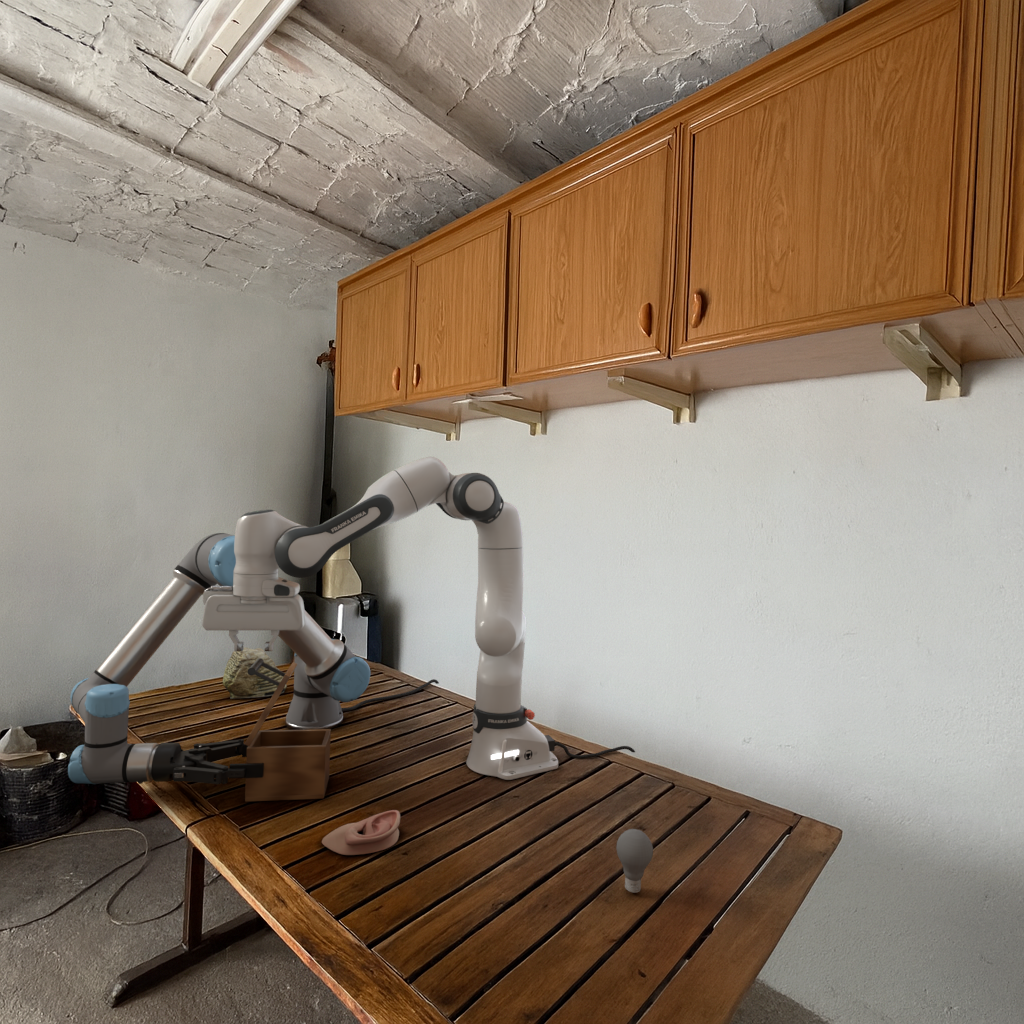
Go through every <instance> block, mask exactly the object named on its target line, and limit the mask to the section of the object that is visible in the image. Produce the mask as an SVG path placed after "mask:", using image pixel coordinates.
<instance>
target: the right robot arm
mask: <svg viewBox="0 0 1024 1024" xmlns="http://www.w3.org/2000/svg"><path fill="white" fill-rule="evenodd" d="M434 504H436V506H437V507H438V508H440V509H441V510H442V512H443V513H444V514H446V515H447V516H448V517H450V518H452V519H456V520H461V521H471V522H473V524H474V526H475V529H476V533H477V591H476V601H475V621H474V623H475V624H474V638H475V642H476V645H477V647H478V648H479V649H480V650H479V655H478V665H477V669H476V686H475V703H474V705H473V710H472V719H471V720H472V721H471V722H472V723H471V724H472V729H473V731H472V737H471V743H470V748H469V751H468V755H467V758H466V760H465V763H466V764H465V765H466V766H467V767H468V768H469V769H470V770H471V771H473V772H474V773H478V774H480V775H485V776H491V777H495V778H496V777H497V778H499V779H502V780H506V781H511V780H515V779H520V778H524V777H528V776H532V775H537V774H540V773H545V772H549V771H553V770H557V769H558V768H559V759H558V758H557V756H556V755H555V754H554V753H553V752H555V748H556V746H557V747H560V748H562V749H563V750H564V753H565V755H567V757H570V758H572V759H588V758H595V757H600V756H603V755H605V754H609V753H614V752H617V751H623V750H628V751H629V752H631V753H636V750H635V749H634V748H633V747H631V746H628V745H620V746H617V747H614V748H608V749H605V750H601V751H599V752H595V753H587V754H574V753H571V752H570V751H569V749H568V747H567V746H566V745H565V744H563V743H561V742H558V741H556V740H555V739H554V738H553V737H551V735H549V734H544V733H543V732H542V731H541V730H539V728H537V727H536V726H534V724H532V723H531V722H530V720H531V721H532V720H534V718H535V716H536V715H535V712H534V711H532V710H531V709H528V708H527V707H525V706H524V705H522V685H523V669H524V659H525V647H526V633H527V618H526V617H527V616H526V614H525V612H524V611H523V601H524V600H523V599H524V598H523V597H524V581H525V577H524V572H525V568H524V567H525V565H524V533H523V526H522V519H521V514H520V511H519V509H518V507H516V506H515V505H514V504H512V503H511V502H507V501H504V498H503V497H502V496H501V493H500V492H499V489H498V487H497V485H496V483H495V482H494V480H493V479H492V478H490V477H489V476H487V475H486V474H484V473H480V472H465V473H460V474H455V475H454V474H452V473H451V472H450V471H449V469H448V467H447V466H446V464H445V463H444V462H443V461H442V460H441V459H439V458H437V457H435V456H425V457H421V458H419V459H416V460H412V461H411V462H407V463H405V464H403V465H401V466H399V467H397V468H395V469H393V470H390V471H389V472H387V473H386V474H384V475H383V476H381V477H380V478H378V479H376V481H374V482H373V483H372V484H370V485H369V486H368V488H367V489H366V490H365V493H364V494H363V496H362V497H361V499H360V500H358V502H357V503H356V504H354V505H353V506H352V507H350V508H348V509H346V510H344V511H343V512H341V513H339V514H337V515H336V516H334V517H332V518H330V519H328V520H326V521H324V522H323V523H321V524H318V525H314V526H306V525H303V524H300V523H297V522H296V521H295V522H294V521H292V520H290V519H288V518H287V517H284V516H283V515H282V514H280V513H279V512H277V511H276V510H273V509H261V510H255V511H254V510H253V511H248V512H246V513H244V514H242V515H241V516H240V517H239V518H238V519H237V521H236V524H235V525H236V526H235V532H234V535H235V540H234V554H235V557H236V564H235V568H234V573H233V586H219V585H215V586H211V587H210V588H208V589H206V590H205V591H204V593H203V595H202V604H203V605H204V608H203V614H202V620H201V621H202V622H201V623H202V624H201V625H202V628H203V629H204V630H205V631H228V637H229V638H230V640H231V642H232V643H233V644H234V646H233V652H234V651H235V652H237V651H243V648H244V647H245V646H244V645H245V644H244V643H245V642H244V641H240V639H239V637H238V636H237V635H238V634H239V631H270V636H271V639H270V640H269V641H265V643H264V652H273V651H274V645H275V644H274V642H275V641H276V639H277V638H278V637H279V636H278V635H279V630H300V629H301V628H302V627H303V626H304V624H305V611H306V610H305V604H304V599H303V597H302V596H301V595H300V594H299V593H300V590H301V585H300V583H298V582H295V581H293V580H289V579H286V578H284V577H280V576H279V569H280V570H281V571H282V572H283V573H284V574H286V575H288V576H290V577H292V578H297V579H303V578H309V577H313V576H314V575H316V574H317V573H318V572H320V571H321V570H322V569H323V568H324V567H325V565H326V564H327V563H328V561H329V560H330V559H331V557H332V556H333V555H334V554H335V553H336V552H338V551H340V550H341V549H342V548H344V547H345V546H348V545H349V544H351V543H353V542H354V541H356V540H357V539H359V538H361V537H363V536H364V535H366V534H367V533H369V532H372V531H374V530H376V529H378V528H382V527H385V526H388V525H391V524H394V523H397V522H399V521H402V520H405V519H406V518H409V517H411V516H413V515H415V514H417V513H418V512H420V511H422V510H423V509H425V508H427V507H429V506H432V505H434ZM210 589H211V591H208V590H210Z"/></svg>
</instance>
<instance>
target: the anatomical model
mask: <svg viewBox="0 0 1024 1024" xmlns="http://www.w3.org/2000/svg"><path fill="white" fill-rule="evenodd" d="M400 823H401V813H400V811H399V810H397V809H392V810H391V809H390V810H387V811H383V812H380V813H377V814H373V815H371V816H369V817H367V818H365V819H362V820H360V821H356V822H349V823H346V824H344V825H341V826H339V827H337V828H335V829H334V830H332V831H331V832H329V833H328V834H326V835H325V836H324V837H323V838H322V840H321V844H322V845H323V846H324V847H325V848H327V849H328V850H330V851H332V852H334V853H337V854H339V855H342V856H356V855H357V856H358V855H366V854H371V853H378V852H382V851H383V850H386V849H388V848H390V847H392V846H394V845H395V844H396V843H397V842H398V840H399V836H400V830H399V827H400Z"/></svg>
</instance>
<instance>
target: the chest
mask: <svg viewBox="0 0 1024 1024" xmlns="http://www.w3.org/2000/svg"><path fill="white" fill-rule="evenodd" d="M331 733H332V729H309V730H292V729H269V730H267V729H266V730H265V729H264V730H259V731H258V733H257V735H256V736H255V738H254V740H253V741H252V743H251V745H250V746H248V747H247V757H245V758H246V759H245V761H246V762H245V763H246V764H247V763H264V772H263V778H245V787H244V788H245V790H244V791H245V792H244V802H246V803H247V802H268V801H269V802H271V801H295V800H319V799H320V800H321V799H323V800H324V799H325V795H326V792H327V787H328V783H329V779H330V764H331V763H330V762H331V736H332V735H331Z"/></svg>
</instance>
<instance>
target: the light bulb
mask: <svg viewBox="0 0 1024 1024" xmlns="http://www.w3.org/2000/svg"><path fill="white" fill-rule="evenodd" d="M615 849H616V854H617V857H618V859H619V861H620V863H621V865H622V867H623V873H624V874H623V875H624V876H625V878H624V888H625V890H627V891H628V892H630V893H634V894H635V893H639V892H640V891H641V889H642V887H641V886H642V879H643V877H644V875H645V871H646V868H647V867H648V866H649V864H650V863H651V861H652V859H653V855H654V847H653V843H652V841H651V838H649V836H648V835H647V834H646V833H645V832H643V831H642V830H641V829H636V828H629V829H627V830H625V831H623V832H622V833H621V834H620V835H619V837H618V839H617V841H616V847H615Z"/></svg>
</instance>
